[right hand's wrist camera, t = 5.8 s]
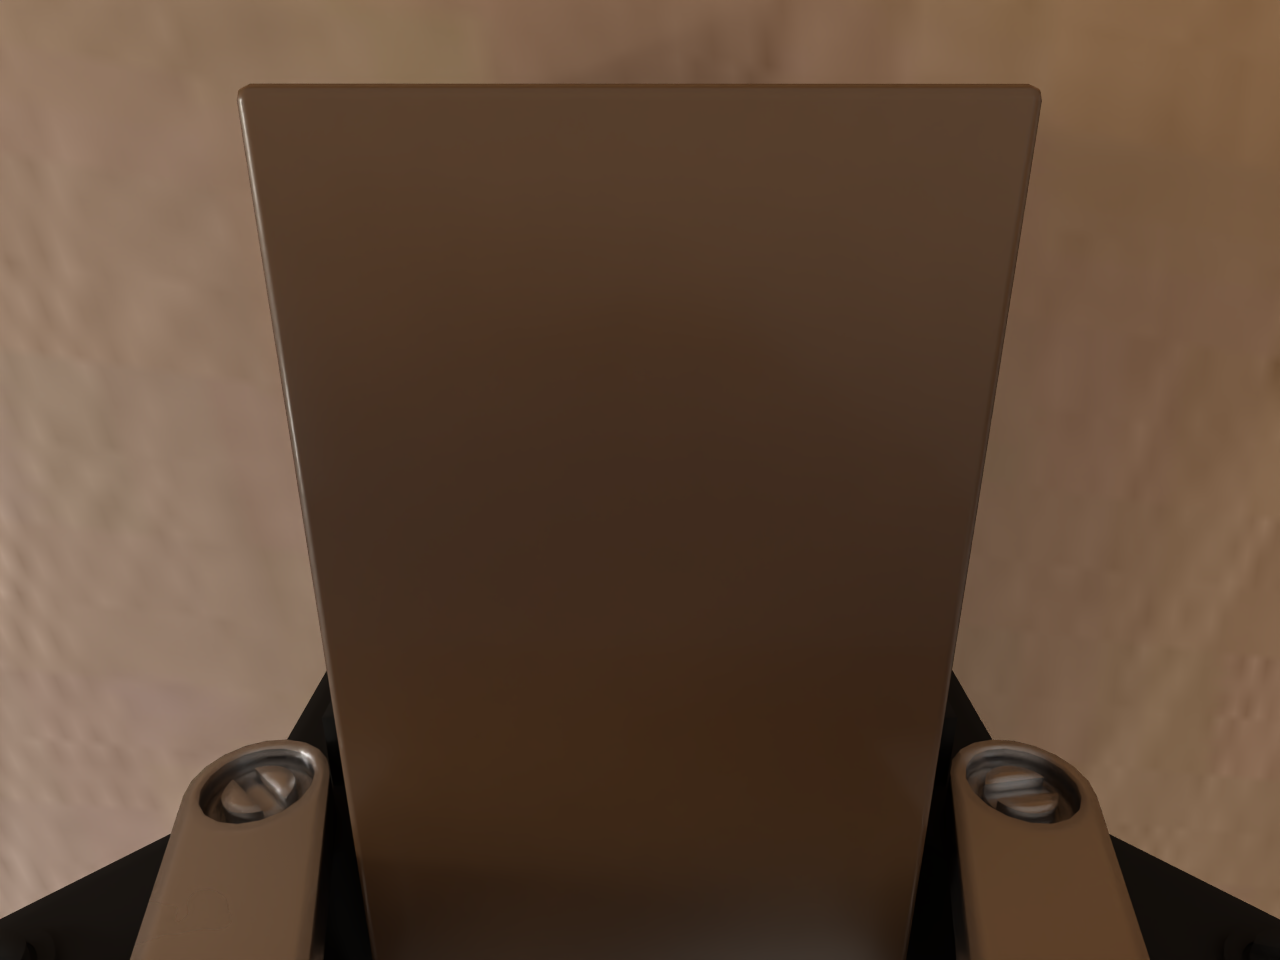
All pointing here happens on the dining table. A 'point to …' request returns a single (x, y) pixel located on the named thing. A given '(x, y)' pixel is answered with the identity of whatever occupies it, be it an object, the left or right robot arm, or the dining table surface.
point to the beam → (639, 492)
